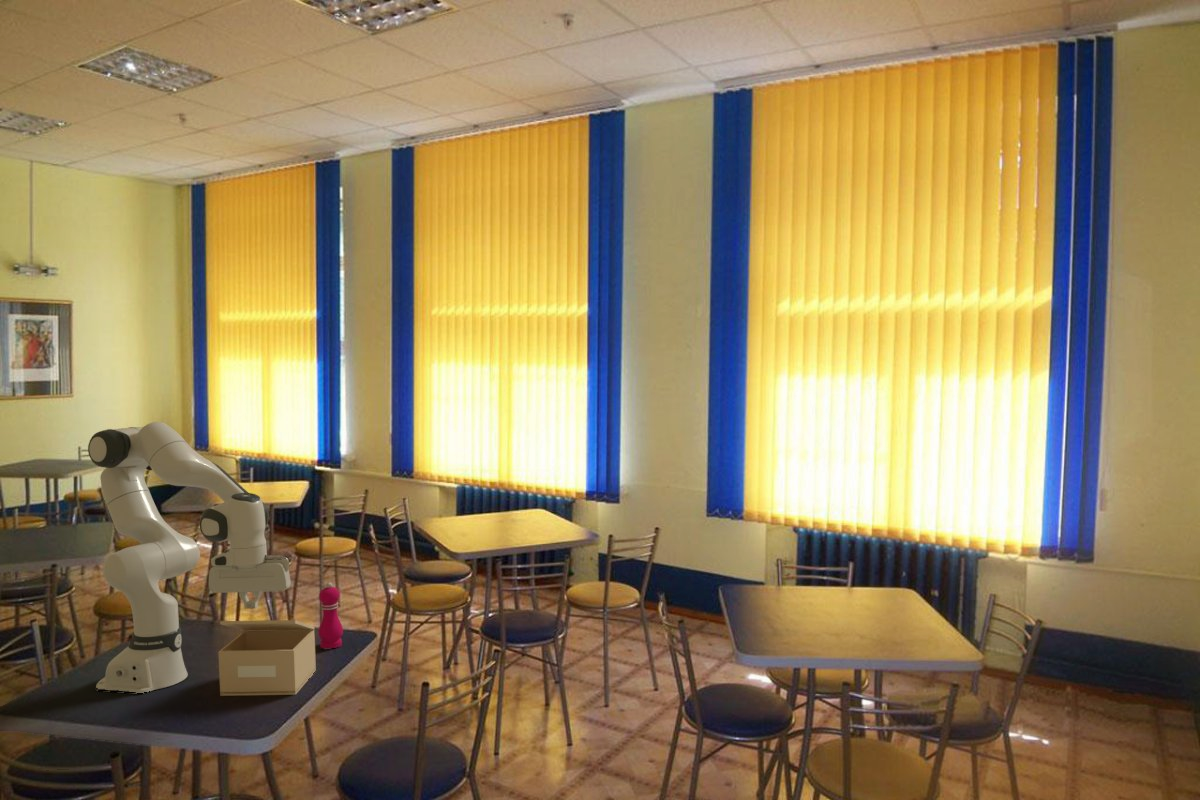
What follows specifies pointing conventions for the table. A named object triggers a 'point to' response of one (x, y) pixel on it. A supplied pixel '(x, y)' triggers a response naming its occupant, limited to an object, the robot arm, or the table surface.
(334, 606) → the pepper mill
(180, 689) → the table surface
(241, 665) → the carton
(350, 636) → the table surface
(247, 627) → the carton lid
